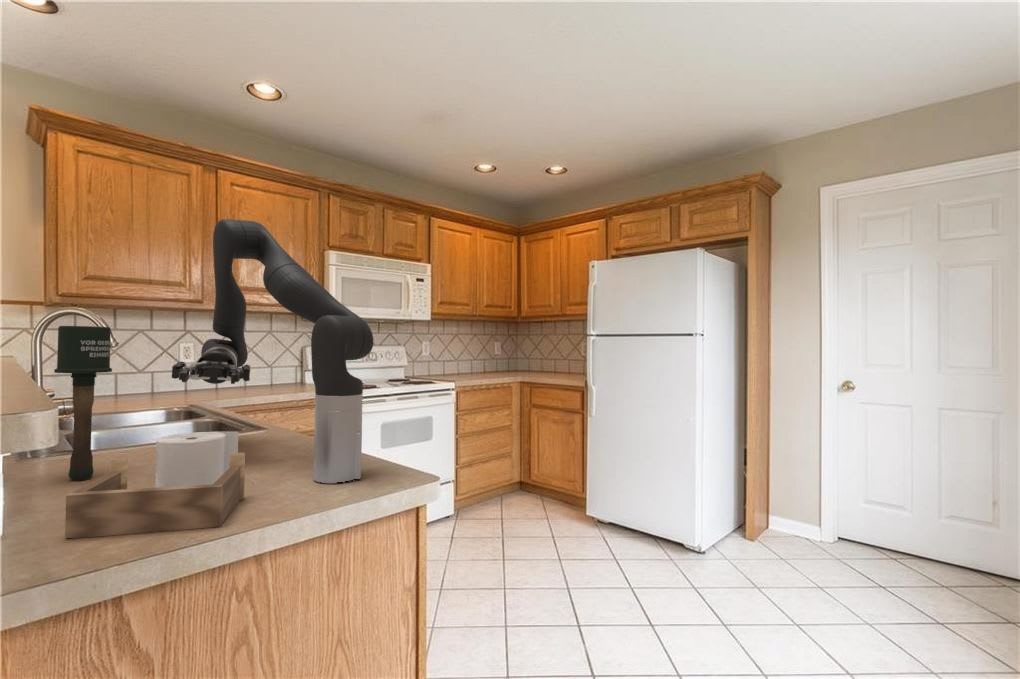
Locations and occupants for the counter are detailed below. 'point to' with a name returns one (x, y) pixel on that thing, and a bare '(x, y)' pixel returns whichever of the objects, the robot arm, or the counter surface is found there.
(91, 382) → the potato masher grenade
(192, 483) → the toilet tissue
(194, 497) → the brown shallow open tray
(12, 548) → the counter surface
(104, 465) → the counter surface
